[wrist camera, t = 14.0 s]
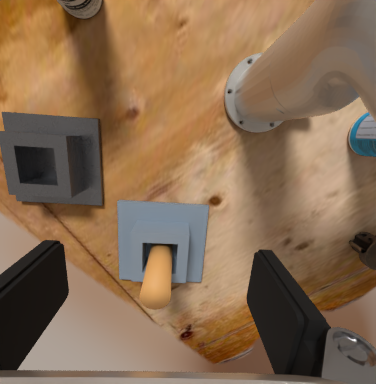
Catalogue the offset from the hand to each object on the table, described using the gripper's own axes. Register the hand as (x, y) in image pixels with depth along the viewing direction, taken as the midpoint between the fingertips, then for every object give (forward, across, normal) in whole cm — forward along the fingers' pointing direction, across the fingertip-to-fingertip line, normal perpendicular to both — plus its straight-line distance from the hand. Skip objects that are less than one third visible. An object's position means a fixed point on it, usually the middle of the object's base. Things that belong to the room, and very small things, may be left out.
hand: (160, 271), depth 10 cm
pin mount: (+30, +22, 0) cm, 37 cm away
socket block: (+30, +2, +16) cm, 34 cm away
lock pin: (+29, +2, +16) cm, 33 cm away
